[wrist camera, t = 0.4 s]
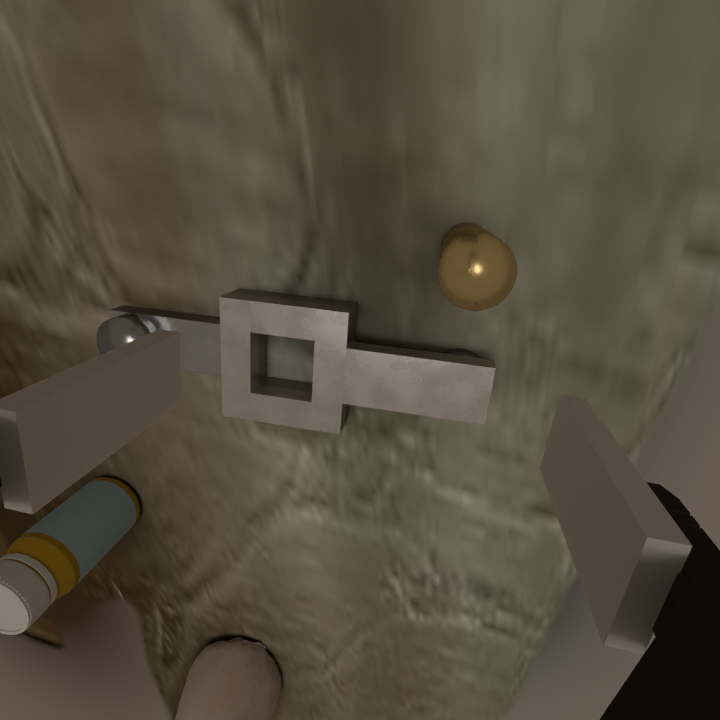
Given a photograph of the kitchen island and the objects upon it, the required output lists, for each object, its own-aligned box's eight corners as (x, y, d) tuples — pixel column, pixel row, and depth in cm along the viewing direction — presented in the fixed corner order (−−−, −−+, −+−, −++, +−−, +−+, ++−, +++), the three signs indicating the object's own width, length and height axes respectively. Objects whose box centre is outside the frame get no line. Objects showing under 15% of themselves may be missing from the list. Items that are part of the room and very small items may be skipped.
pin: (444, 220, 36) (444, 230, 23) (495, 224, 36) (523, 237, 23) (437, 270, 38) (433, 306, 25) (486, 275, 37) (508, 314, 24)
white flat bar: (120, 274, 43) (89, 281, 39) (497, 319, 38) (503, 331, 35) (130, 381, 47) (103, 396, 43) (475, 434, 42) (478, 456, 38)
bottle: (152, 496, 51) (43, 606, 37) (131, 535, 54) (21, 651, 40) (99, 463, 51) (-30, 560, 37) (81, 503, 54) (-47, 609, 40)
